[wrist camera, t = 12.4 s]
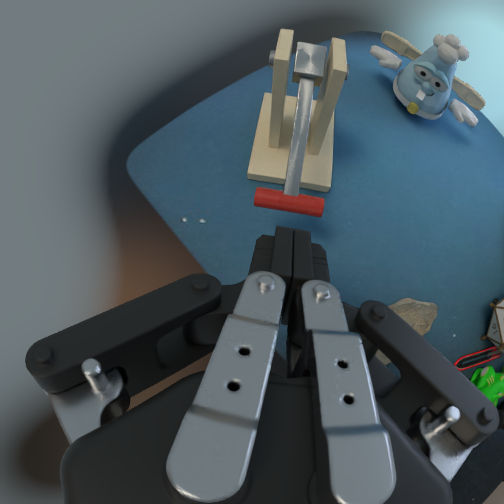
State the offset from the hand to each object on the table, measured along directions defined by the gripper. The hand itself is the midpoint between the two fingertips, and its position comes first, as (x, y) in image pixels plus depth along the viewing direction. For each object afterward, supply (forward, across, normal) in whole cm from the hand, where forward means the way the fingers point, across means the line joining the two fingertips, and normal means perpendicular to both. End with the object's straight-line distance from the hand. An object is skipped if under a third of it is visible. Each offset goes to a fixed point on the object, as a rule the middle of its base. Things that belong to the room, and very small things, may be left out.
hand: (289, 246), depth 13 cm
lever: (+12, 0, +4) cm, 12 cm away
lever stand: (+20, 0, +1) cm, 20 cm away
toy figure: (+27, +15, +9) cm, 33 cm away
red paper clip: (+5, +28, -12) cm, 31 cm away
